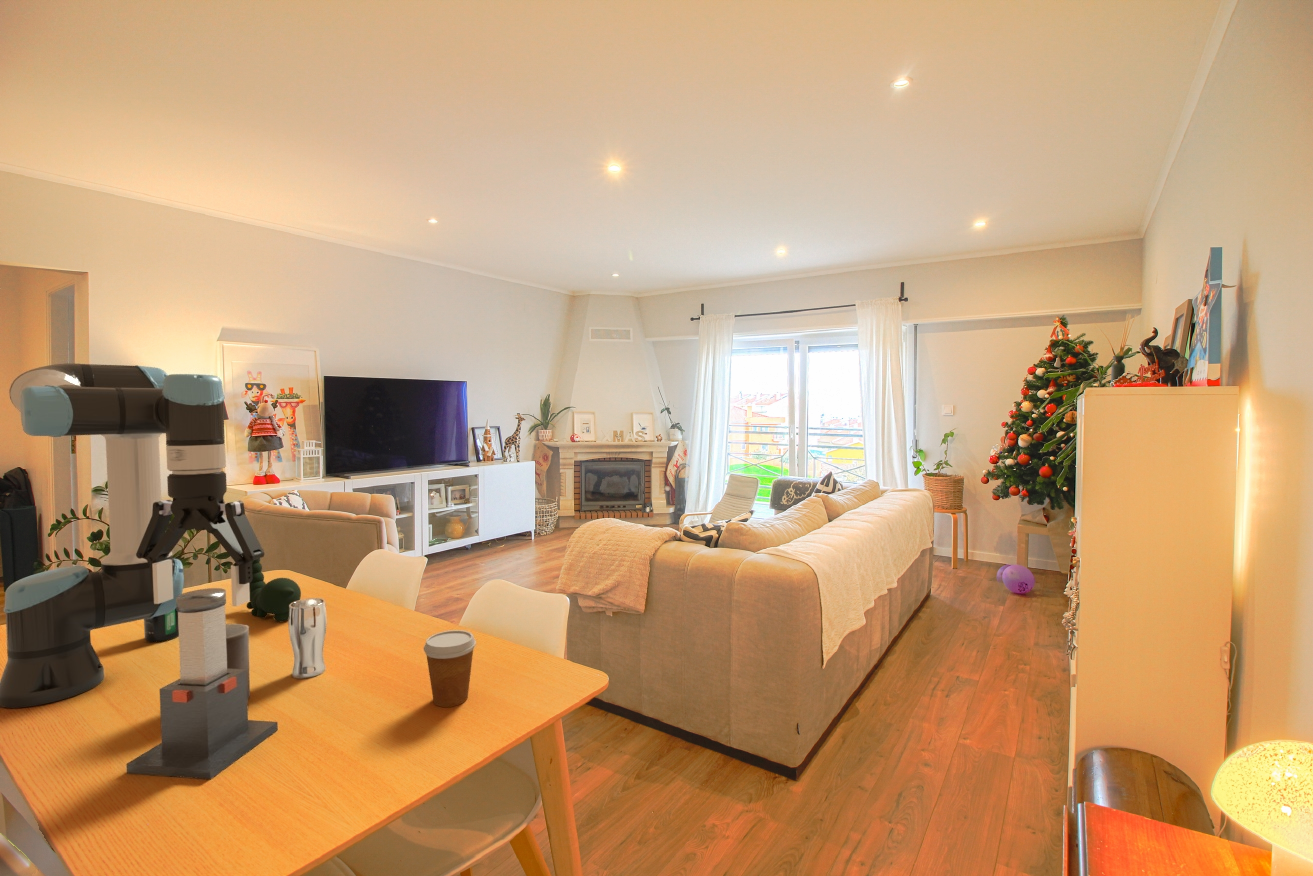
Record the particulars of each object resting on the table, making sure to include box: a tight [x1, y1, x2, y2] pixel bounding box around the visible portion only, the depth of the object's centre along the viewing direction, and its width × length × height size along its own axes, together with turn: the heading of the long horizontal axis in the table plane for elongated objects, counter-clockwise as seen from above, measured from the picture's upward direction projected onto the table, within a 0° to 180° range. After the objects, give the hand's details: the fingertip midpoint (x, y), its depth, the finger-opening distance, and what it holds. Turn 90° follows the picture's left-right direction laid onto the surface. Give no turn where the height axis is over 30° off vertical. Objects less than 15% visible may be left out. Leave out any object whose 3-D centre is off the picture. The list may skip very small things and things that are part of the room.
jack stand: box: [126, 668, 279, 780], centre depth 99 cm, size 14×14×12 cm
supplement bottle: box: [143, 607, 179, 643], centre depth 147 cm, size 7×7×12 cm
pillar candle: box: [226, 623, 251, 701], centre depth 115 cm, size 10×10×15 cm
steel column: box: [176, 587, 227, 687], centre depth 98 cm, size 6×6×24 cm
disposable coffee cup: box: [423, 629, 477, 708], centre depth 116 cm, size 10×10×12 cm
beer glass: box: [287, 597, 328, 680], centre depth 128 cm, size 7×7×15 cm
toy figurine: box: [246, 549, 302, 623], centre depth 162 cm, size 9×19×25 cm
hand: (202, 602), depth 98 cm, fingers open, 13 cm apart
